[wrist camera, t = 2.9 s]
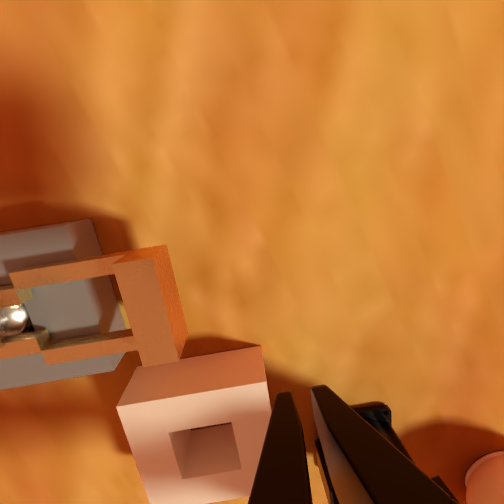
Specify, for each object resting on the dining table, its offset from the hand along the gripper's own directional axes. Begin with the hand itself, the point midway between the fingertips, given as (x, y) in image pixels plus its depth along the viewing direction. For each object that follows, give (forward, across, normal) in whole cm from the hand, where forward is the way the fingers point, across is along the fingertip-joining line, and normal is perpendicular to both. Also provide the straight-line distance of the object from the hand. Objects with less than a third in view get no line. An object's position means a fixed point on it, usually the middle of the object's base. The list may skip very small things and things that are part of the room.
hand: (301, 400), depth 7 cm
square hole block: (+13, +6, +12) cm, 19 cm away
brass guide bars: (+10, +12, 0) cm, 16 cm away
